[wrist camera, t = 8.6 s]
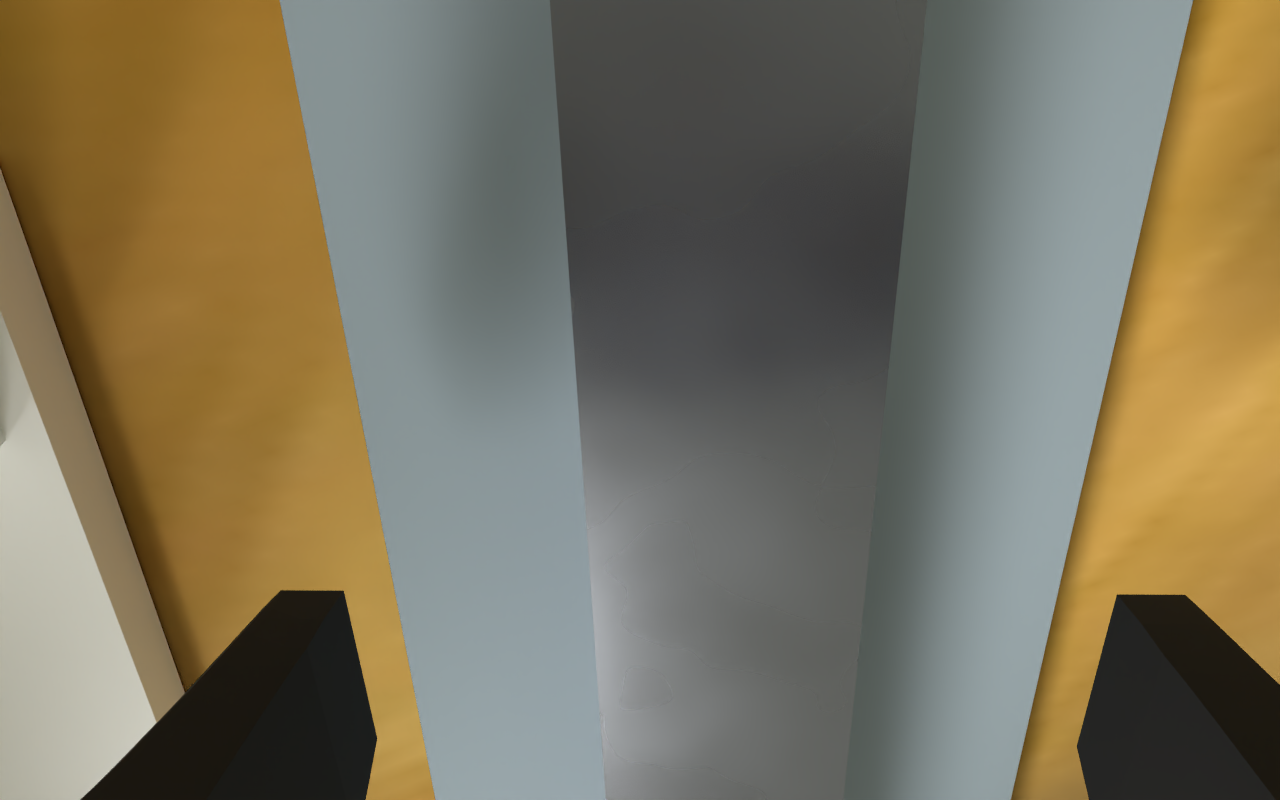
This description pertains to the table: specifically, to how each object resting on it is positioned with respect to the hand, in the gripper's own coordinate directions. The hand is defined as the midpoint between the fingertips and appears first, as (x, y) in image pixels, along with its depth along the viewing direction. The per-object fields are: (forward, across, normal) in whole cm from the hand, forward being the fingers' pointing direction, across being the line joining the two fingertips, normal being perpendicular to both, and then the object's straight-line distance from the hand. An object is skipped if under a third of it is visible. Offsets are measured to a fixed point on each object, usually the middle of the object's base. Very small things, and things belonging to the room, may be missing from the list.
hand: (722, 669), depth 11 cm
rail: (+2, 0, 0) cm, 3 cm away
